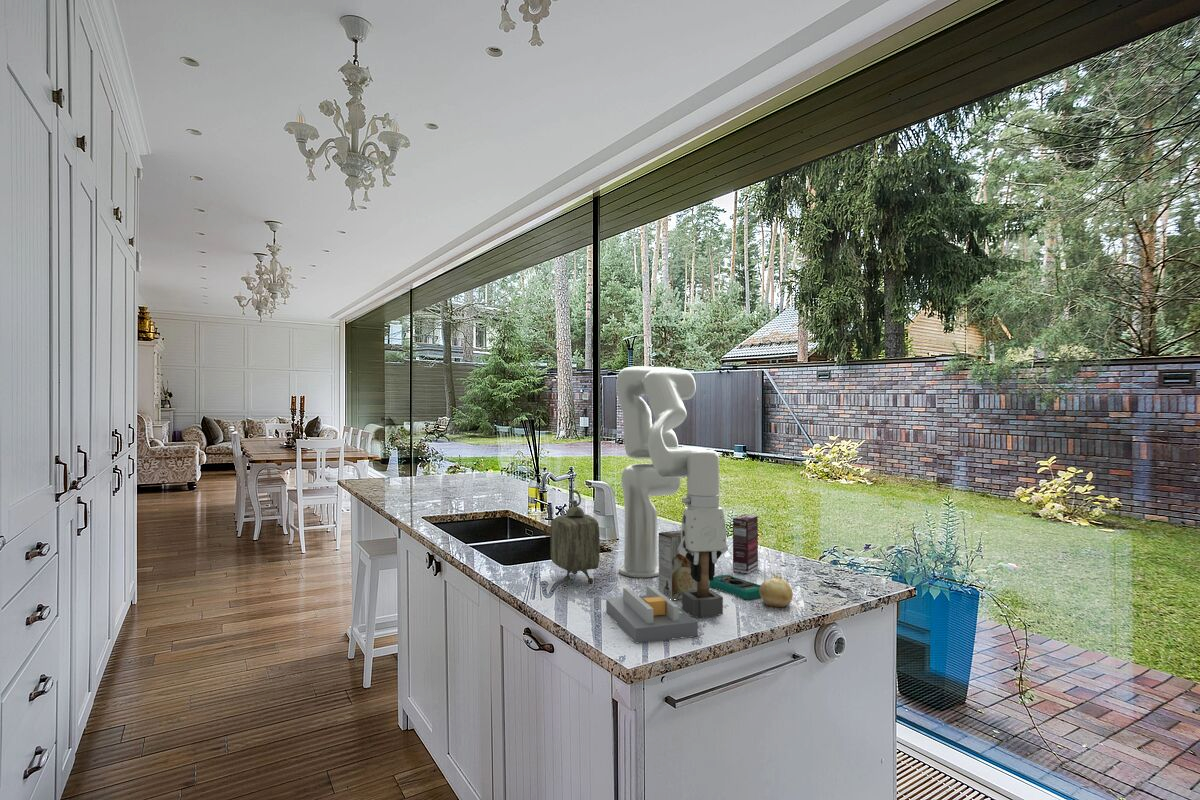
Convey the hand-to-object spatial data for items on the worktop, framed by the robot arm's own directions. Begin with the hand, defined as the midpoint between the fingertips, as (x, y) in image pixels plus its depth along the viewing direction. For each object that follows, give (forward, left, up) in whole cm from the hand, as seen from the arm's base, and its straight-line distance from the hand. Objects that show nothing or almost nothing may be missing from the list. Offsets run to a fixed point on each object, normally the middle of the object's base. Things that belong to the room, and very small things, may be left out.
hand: (702, 578), depth 146 cm
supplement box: (-30, +29, -8) cm, 43 cm away
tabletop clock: (-33, -23, -8) cm, 41 cm away
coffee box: (-13, 0, -8) cm, 15 cm away
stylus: (0, 0, -6) cm, 6 cm away
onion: (0, +20, -8) cm, 22 cm away
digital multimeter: (-13, +16, -8) cm, 22 cm away
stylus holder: (0, 0, -8) cm, 8 cm away
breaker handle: (+7, -15, -4) cm, 17 cm away
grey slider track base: (+4, -15, -8) cm, 17 cm away
